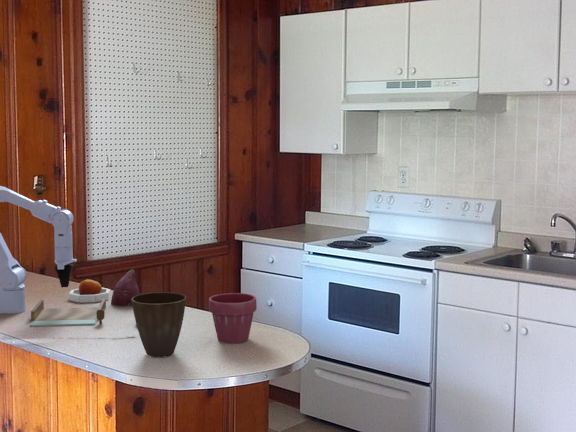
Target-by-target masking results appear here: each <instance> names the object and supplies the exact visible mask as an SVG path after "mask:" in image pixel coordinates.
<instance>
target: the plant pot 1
mask: <svg viewBox="0 0 576 432" xmlns="http://www.w3.org/2000/svg"><path fill="white" fill-rule="evenodd" d="M186 300H187V296H186V295H185V294H182V293H177V292H169V291H167V292H166V291H165V292H164V291H161V292H146V293H142V294H140V295H137V296H134V297H133V298H132V305H133V306H132V311H133V315H134V320H135V324H136V329H137V331H138V335H139V338H140V341H141V343H142V346H143V348H144V351H145V353H146V356H148V357H150V356H151V357H152V358H165V357H164V356H167V357H170V356H172V355H174V352H175V351H176V348H177V346H178V345H177V344H178V342H179V341H178V340H179V338H180V335H181V330H182V325H183V321H184V316H185V310H186V309H185V308H186Z"/></svg>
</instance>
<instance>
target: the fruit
mask: <svg viewBox="0 0 576 432" xmlns="http://www.w3.org/2000/svg"><path fill="white" fill-rule="evenodd" d="M101 288H103V286H102V284H100V282H98V281H96V280H93V279H88V278H87V279H84V280H82V281H80V283H79V286H78V289H79V293H80V295H95V294H99V293H100V291H101Z"/></svg>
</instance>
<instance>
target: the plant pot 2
mask: <svg viewBox="0 0 576 432" xmlns="http://www.w3.org/2000/svg"><path fill="white" fill-rule="evenodd" d="M257 304H258V303H257V297H256V296H255V295H254V294H249V293H243V292H229V293H220V294H215V295H211V296H210V297H209V298H208V310H209V312H210V313H211V314H212V319H213V325H214V328H215V333H216V337H217V341H218V342H220V343H224V344H242V343H245V342H248V341H249V336H250V333H251V329H252V328H251V327H252V323H253V317H254V313H255V312H256V311H257V310H258V309H257V307H258V305H257Z"/></svg>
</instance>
